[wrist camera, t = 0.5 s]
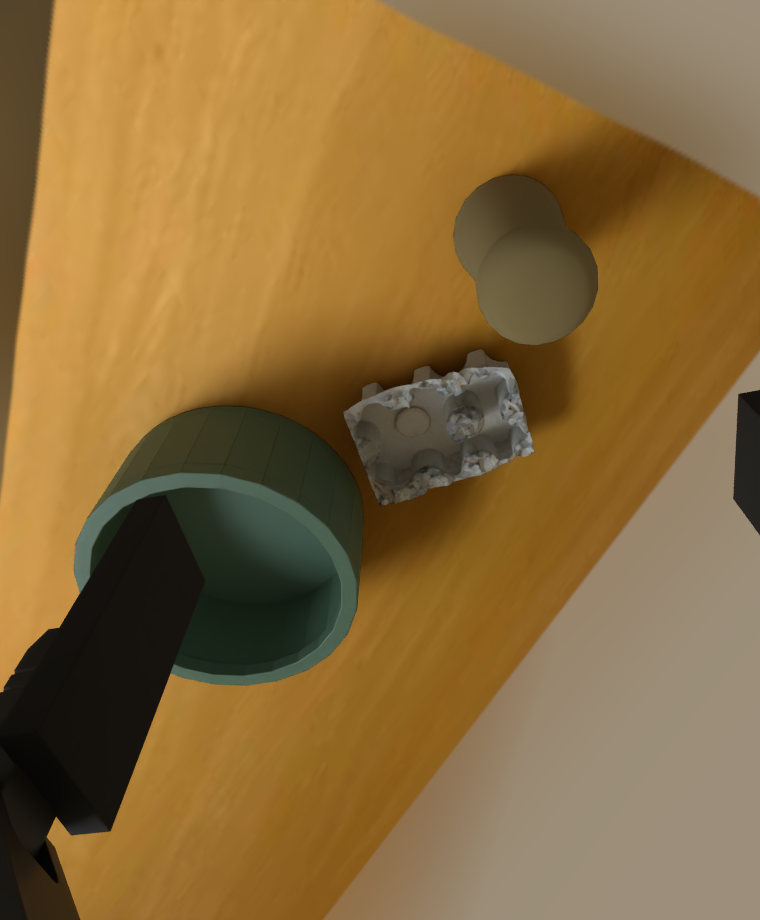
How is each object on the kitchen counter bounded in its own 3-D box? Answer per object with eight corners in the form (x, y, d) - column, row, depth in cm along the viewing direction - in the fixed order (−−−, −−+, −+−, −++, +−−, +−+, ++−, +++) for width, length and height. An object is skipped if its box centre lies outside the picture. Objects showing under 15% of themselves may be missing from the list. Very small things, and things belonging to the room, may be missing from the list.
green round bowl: (77, 433, 45) (20, 504, 38) (325, 381, 43) (310, 446, 36) (177, 617, 54) (145, 700, 47) (388, 582, 51) (386, 665, 45)
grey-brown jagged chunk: (374, 476, 46) (372, 512, 43) (340, 380, 43) (334, 411, 39) (530, 441, 45) (540, 475, 41) (508, 337, 41) (518, 365, 37)
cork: (492, 307, 40) (520, 390, 30) (431, 223, 37) (441, 286, 28) (584, 242, 38) (643, 310, 28) (525, 149, 35) (570, 190, 26)
